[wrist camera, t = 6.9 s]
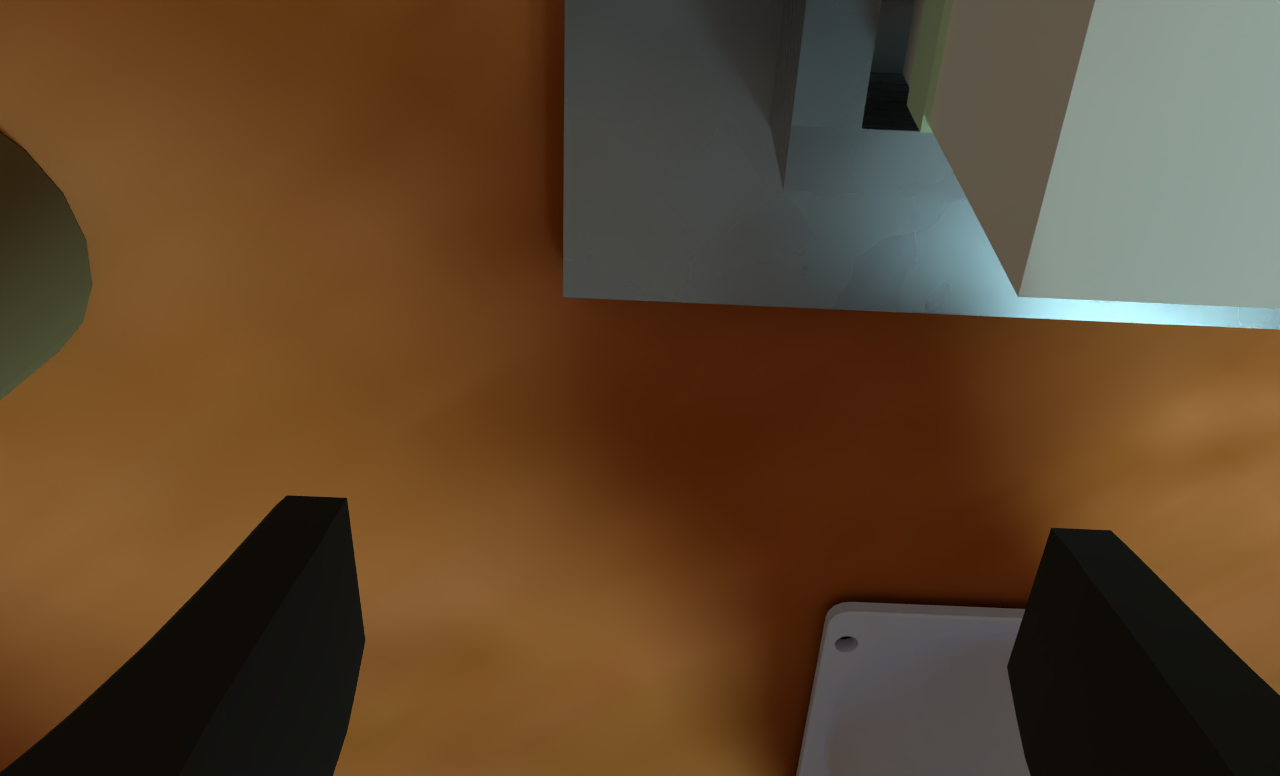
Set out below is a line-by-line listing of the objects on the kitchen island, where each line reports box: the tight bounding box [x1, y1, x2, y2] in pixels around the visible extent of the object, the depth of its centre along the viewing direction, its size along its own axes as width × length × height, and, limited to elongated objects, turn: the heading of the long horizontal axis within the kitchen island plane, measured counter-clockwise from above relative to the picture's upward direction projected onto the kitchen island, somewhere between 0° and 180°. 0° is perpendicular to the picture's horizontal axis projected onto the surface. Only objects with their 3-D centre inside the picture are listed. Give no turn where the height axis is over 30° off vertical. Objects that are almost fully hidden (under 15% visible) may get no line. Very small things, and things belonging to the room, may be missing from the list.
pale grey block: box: [902, 0, 1280, 309], centre depth 13 cm, size 4×4×6 cm
